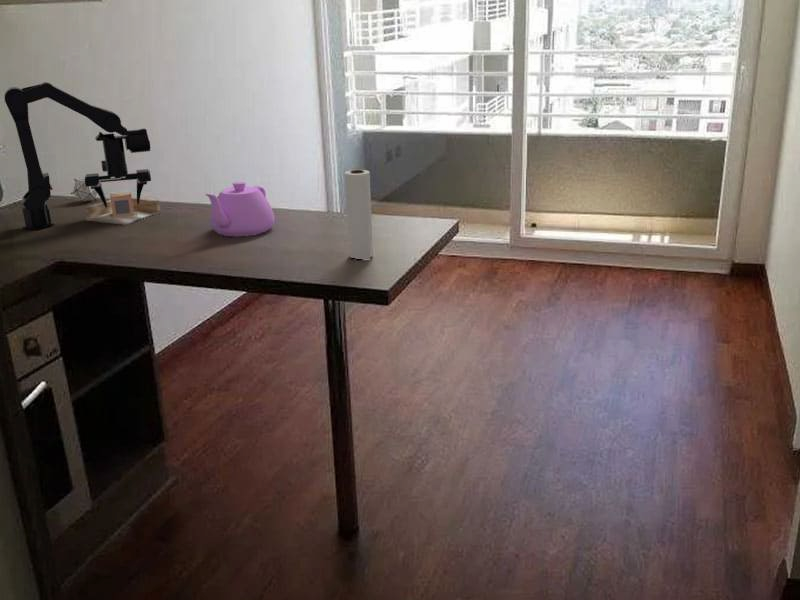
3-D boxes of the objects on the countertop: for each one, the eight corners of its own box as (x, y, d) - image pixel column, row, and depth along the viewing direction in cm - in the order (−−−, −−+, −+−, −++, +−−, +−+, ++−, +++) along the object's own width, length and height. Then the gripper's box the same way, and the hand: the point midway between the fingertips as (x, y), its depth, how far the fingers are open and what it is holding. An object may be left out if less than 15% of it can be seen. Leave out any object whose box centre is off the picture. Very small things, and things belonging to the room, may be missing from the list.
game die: (91, 211, 268) (99, 184, 270) (98, 206, 261) (106, 178, 263) (64, 201, 263) (73, 173, 265) (70, 196, 256) (79, 167, 259)
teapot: (243, 218, 238) (238, 172, 233) (292, 223, 230) (288, 176, 226) (186, 239, 217) (180, 190, 213) (238, 246, 210) (233, 195, 205)
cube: (134, 215, 242) (131, 196, 240) (113, 217, 240) (110, 198, 238) (133, 211, 247) (130, 192, 245) (113, 213, 245) (110, 194, 243)
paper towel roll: (351, 253, 201) (346, 168, 193) (374, 253, 200) (371, 168, 192) (346, 261, 194) (341, 174, 186) (370, 262, 193) (367, 174, 186)
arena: (124, 224, 234) (122, 211, 232) (86, 220, 240) (84, 207, 239) (160, 213, 246) (158, 200, 245) (123, 209, 253) (121, 196, 251)
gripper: (146, 148, 247) (152, 197, 253) (82, 152, 242) (90, 203, 247) (147, 153, 237) (154, 204, 243) (81, 158, 232) (89, 211, 237)
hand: (122, 205), depth 243 cm, fingers open, 9 cm apart
